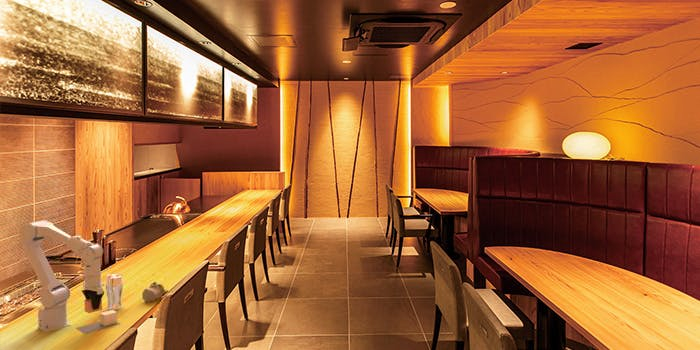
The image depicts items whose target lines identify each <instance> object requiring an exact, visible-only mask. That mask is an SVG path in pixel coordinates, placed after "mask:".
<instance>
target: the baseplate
mask: <svg viewBox="0 0 700 350" xmlns="http://www.w3.org/2000/svg"><path fill="white" fill-rule="evenodd" d="M119 325H121V323H120V322H118V321H117V323H114V324H110V325H107V326H103V325H102V324H100V321H96V322H93V323H90V324H86V325H82V326H78V327H76V328H75V329H76V330H78V331H79V332H80V333H82V334H84V335H86V334H91V333H94V332H99V331H101V330H104V329H108V328H111V327H115V326H119Z"/></svg>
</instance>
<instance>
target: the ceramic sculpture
mask: <svg viewBox="0 0 700 350" xmlns="http://www.w3.org/2000/svg"><path fill="white" fill-rule="evenodd" d="M168 291H169V290H167V289H166V290H165V287H164V285H163V284H161V283H157V282H156V281H153V282H152V283H151V284H150V286H148V288H145V289H143V291H142V294H141V295H142V299H143V300H144V302H146V303H153V302H155V301H156V300H157V299H161V298H162V297H163V296H164V295H165V294H166V293H167V292H168ZM163 298H164V297H163Z"/></svg>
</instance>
